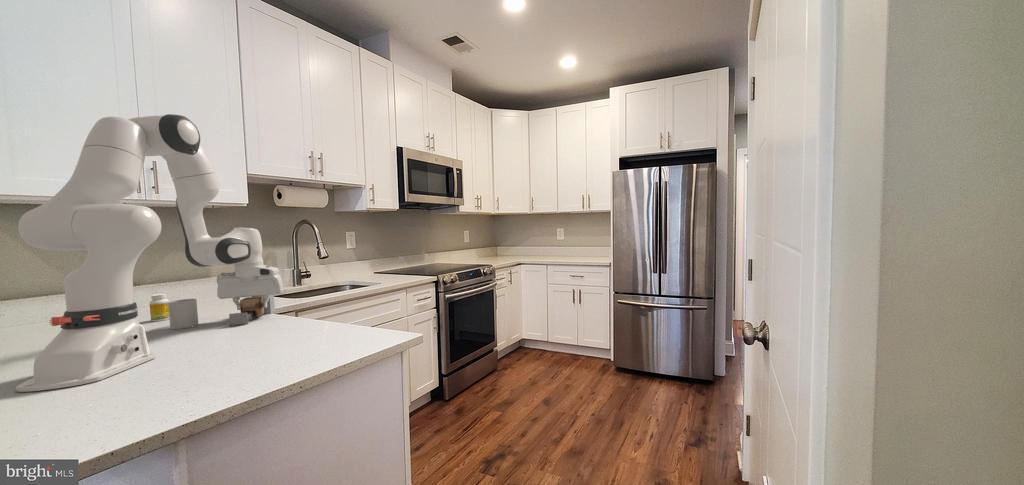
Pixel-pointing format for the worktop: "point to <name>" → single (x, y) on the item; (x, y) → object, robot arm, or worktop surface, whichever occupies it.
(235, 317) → the rail
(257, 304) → the carriage
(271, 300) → the gauge cabinet
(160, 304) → the supplement bottle
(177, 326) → the cup
